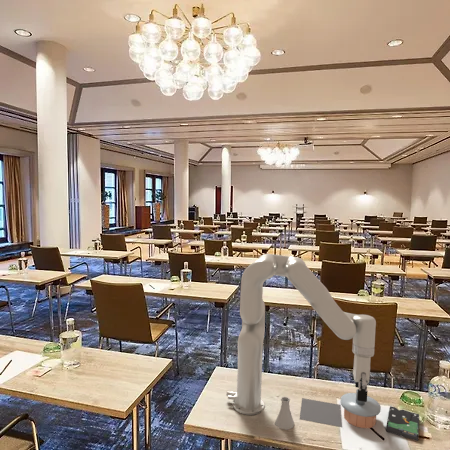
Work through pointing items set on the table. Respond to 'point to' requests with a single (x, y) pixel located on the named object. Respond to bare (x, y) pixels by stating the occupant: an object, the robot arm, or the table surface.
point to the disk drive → (403, 423)
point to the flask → (285, 415)
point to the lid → (360, 405)
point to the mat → (321, 412)
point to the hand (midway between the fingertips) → (360, 393)
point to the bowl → (359, 420)
